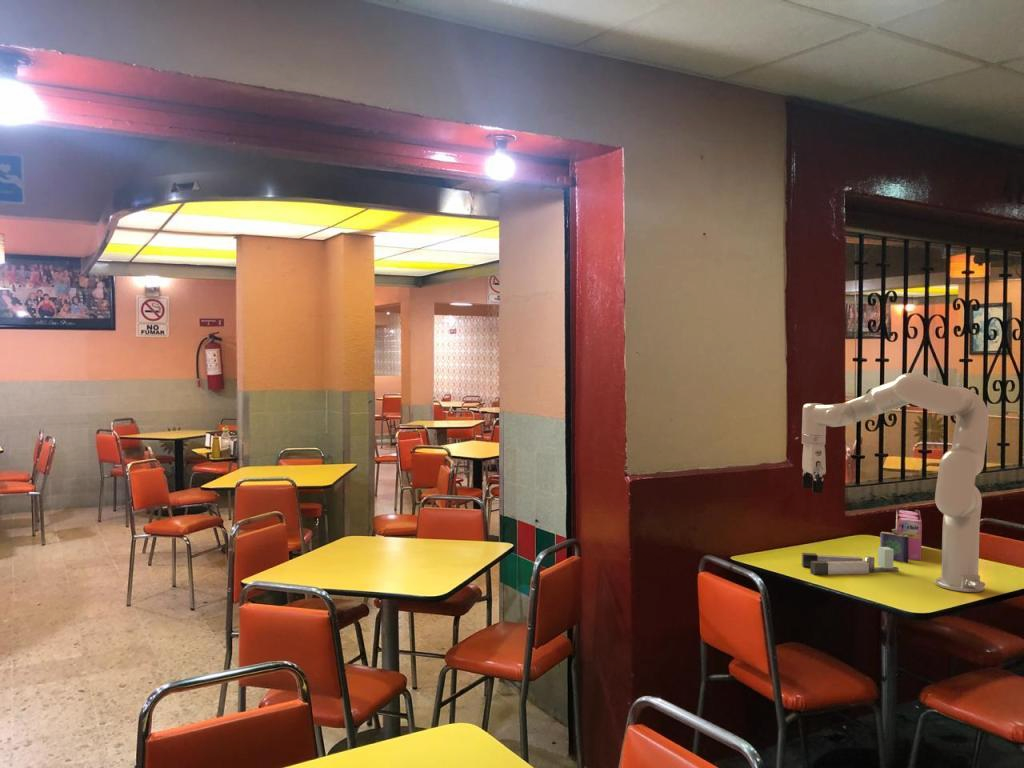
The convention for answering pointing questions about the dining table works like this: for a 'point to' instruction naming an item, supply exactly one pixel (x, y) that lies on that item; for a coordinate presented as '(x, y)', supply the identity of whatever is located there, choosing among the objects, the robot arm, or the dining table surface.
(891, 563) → the white upright block
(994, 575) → the dining table surface
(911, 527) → the gum box
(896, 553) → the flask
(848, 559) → the tong leg
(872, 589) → the dining table surface
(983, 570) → the dining table surface
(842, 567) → the base
